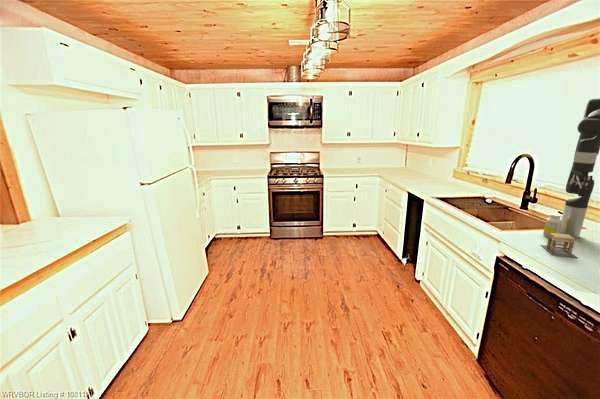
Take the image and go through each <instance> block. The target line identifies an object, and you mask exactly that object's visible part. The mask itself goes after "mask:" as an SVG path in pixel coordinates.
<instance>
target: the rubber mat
mask: <svg viewBox="0 0 600 399" xmlns="http://www.w3.org/2000/svg"><path fill="white" fill-rule="evenodd" d="M546 246H547V244H546V245H545V244H541V245H540V247H542V248H543V249H544V250H545V251H547V252H548V253H549V254H550V255H551V256H557V257H567V258H575V259H578V256H577V255H575V254H574V253H571V254H568V253H567V251H565V250H563V249H561V248H555V251H554V252H551V251H550V249H551V247H550V249H548V248H546Z"/></svg>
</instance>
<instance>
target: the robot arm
mask: <svg viewBox="0 0 600 399" xmlns="http://www.w3.org/2000/svg"><path fill="white" fill-rule="evenodd" d="M577 132H578V133H580V134H579V136H578V141H577V143H576V148H575V152H574V157H573V161H572V166H571V169H570V171H569V176H568V179H567V181H566V186H565V192H566V193H567V194H573V195H577V198H570V199H566V200H565V203H564V207H563V212H562V215H561V217H560V220H561V221H562V223H561V227H560V231H559V234H565V235H570V236H572V237H573V238H575V239H576V238H580V235H581V232H582V229H583V225H584V221H585V217H586V215H587V210H588V207H589V202H590V199H591V195H592V193H593V191H594V186H595V180H594V179H593V175H589V173H593V172H594V168H595V165H596V161H597V157H598V155H599V153H600V98H599V97H598V98H590V99H588V100H587V102H586V104H585V109H584V113H583V119H581V120H580V122H578V125H577Z"/></svg>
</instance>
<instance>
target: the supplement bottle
mask: <svg viewBox="0 0 600 399" xmlns="http://www.w3.org/2000/svg"><path fill="white" fill-rule="evenodd" d="M561 218H562V215H561V214H558V213H551V212H550V213H549V217H547V218H546V219H545V224H544V227H543V228H544V229H543V233H542V235H543V236H545V237H547V238H549V234H550V233H555V234H559V231H560V227H561V223H562V221H561Z"/></svg>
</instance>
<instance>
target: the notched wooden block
mask: <svg viewBox="0 0 600 399" xmlns="http://www.w3.org/2000/svg"><path fill="white" fill-rule="evenodd" d="M575 240H576V237H572V236H570V235H565V234H555V233H550V234H549V237H547V242H546V245H547V246H546V248H548V249H550V247H551V249H550V251H551V252H554V251H555V248H561V249H563V250H565V251H567V253H568V254H571V253H572V252H573V249H574V244H575V242H576V241H575ZM558 242H563V244H561V243H558ZM572 254H573V253H572Z"/></svg>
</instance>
